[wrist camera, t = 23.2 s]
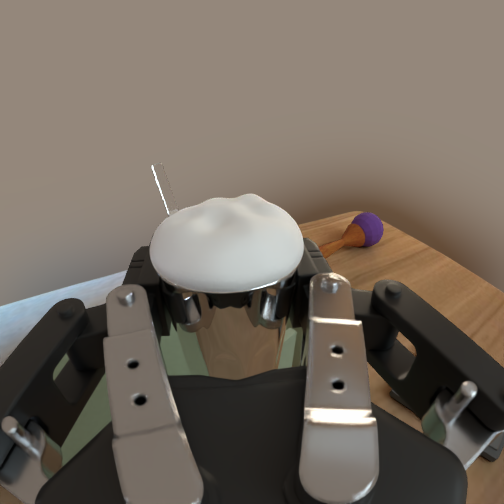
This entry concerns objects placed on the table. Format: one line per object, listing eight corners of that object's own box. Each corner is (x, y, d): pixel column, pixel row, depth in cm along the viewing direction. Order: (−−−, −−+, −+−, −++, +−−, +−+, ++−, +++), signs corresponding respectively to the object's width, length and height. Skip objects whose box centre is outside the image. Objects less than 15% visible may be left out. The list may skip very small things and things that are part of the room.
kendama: (279, 242, 46) (362, 206, 55) (284, 277, 48) (364, 235, 57) (307, 253, 41) (389, 211, 50) (311, 291, 43) (389, 243, 52)
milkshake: (218, 340, 16) (204, 150, 11) (303, 387, 14) (336, 173, 9) (156, 390, 13) (97, 182, 8) (244, 457, 10) (232, 225, 5)
